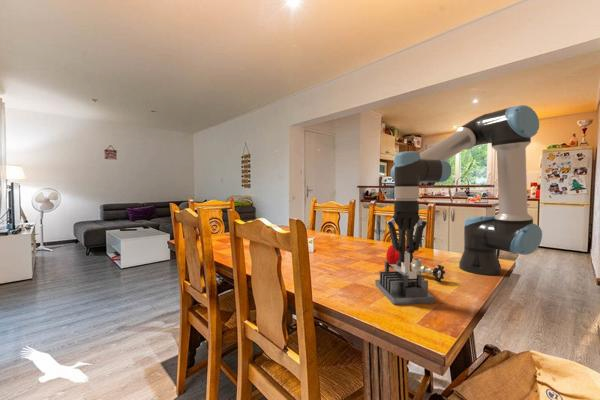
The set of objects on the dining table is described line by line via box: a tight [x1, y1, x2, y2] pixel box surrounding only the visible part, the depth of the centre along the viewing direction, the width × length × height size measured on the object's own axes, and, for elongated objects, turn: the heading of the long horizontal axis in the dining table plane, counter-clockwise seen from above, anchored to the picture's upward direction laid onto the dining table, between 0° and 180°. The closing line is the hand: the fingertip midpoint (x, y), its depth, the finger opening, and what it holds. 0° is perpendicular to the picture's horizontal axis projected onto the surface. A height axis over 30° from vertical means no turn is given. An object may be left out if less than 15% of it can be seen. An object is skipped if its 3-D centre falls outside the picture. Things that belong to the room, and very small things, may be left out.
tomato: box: [385, 244, 414, 265], centre depth 126 cm, size 12×12×10 cm
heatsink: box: [374, 260, 436, 306], centre depth 95 cm, size 18×13×8 cm
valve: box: [410, 257, 446, 283], centre depth 110 cm, size 7×7×12 cm
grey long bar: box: [389, 264, 417, 279], centre depth 95 cm, size 16×3×2 cm, turn 3°
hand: (405, 271), depth 91 cm, fingers closed
